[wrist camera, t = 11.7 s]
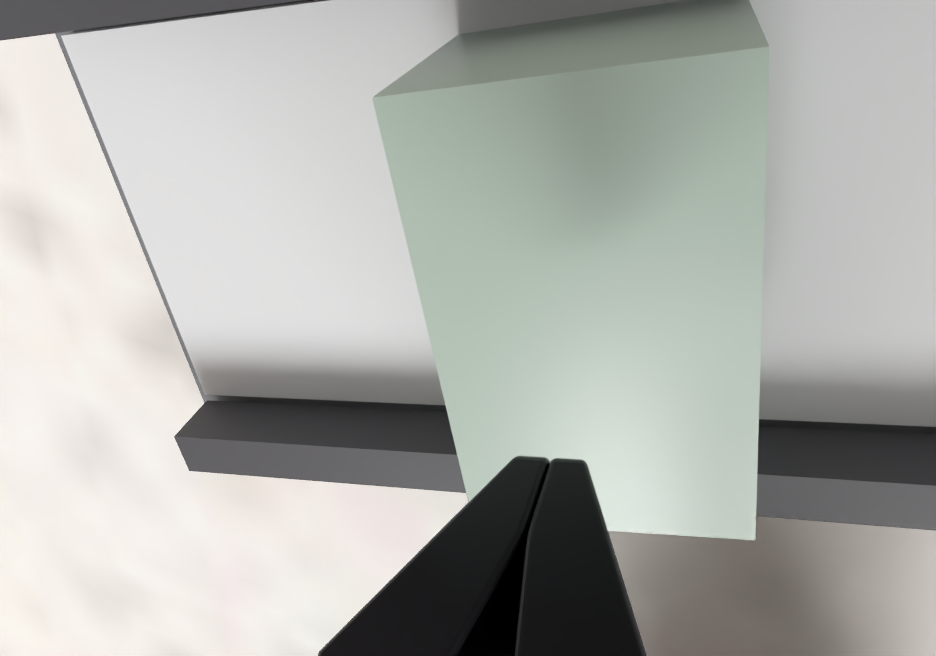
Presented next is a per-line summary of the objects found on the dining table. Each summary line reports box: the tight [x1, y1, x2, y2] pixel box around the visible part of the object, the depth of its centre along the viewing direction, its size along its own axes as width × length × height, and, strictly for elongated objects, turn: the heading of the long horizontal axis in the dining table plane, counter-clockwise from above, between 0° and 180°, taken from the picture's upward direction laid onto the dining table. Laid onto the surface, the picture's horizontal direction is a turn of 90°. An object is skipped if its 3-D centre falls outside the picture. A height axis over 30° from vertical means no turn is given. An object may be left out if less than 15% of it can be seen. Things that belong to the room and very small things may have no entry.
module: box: [372, 0, 769, 540], centre depth 13 cm, size 8×5×4 cm, turn 11°
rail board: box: [0, 0, 936, 530], centre depth 15 cm, size 13×24×3 cm, turn 98°
